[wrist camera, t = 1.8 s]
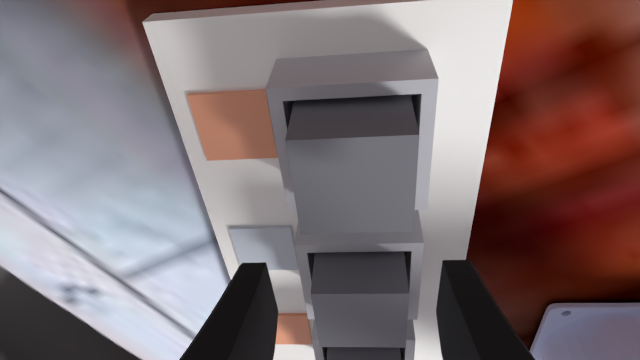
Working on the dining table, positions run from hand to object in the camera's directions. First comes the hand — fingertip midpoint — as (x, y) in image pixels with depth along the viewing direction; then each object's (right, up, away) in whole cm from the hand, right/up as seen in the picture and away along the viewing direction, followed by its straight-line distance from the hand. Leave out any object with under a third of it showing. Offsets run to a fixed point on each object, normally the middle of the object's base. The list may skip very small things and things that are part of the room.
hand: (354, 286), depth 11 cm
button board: (0, 0, +12) cm, 12 cm away
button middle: (+1, -2, +10) cm, 10 cm away
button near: (0, +4, +5) cm, 7 cm away
